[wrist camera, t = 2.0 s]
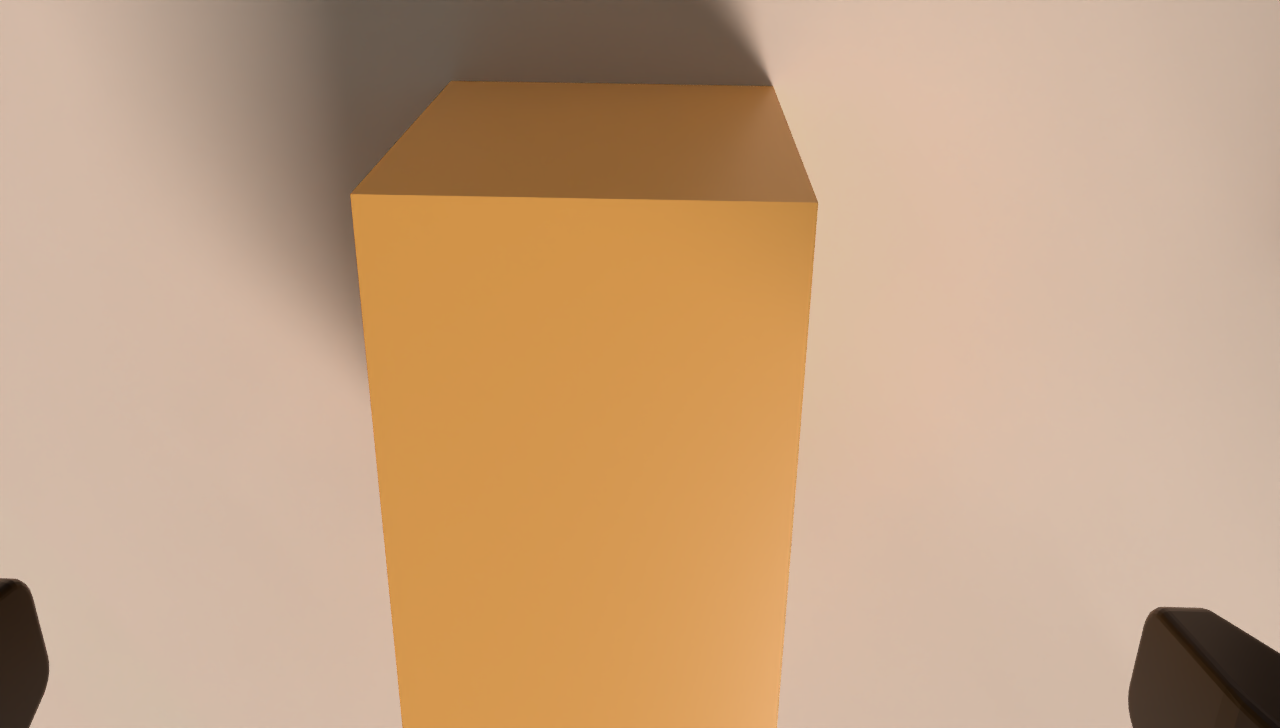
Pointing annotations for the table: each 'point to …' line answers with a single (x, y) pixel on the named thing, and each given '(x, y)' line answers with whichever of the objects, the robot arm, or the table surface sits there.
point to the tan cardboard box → (588, 400)
